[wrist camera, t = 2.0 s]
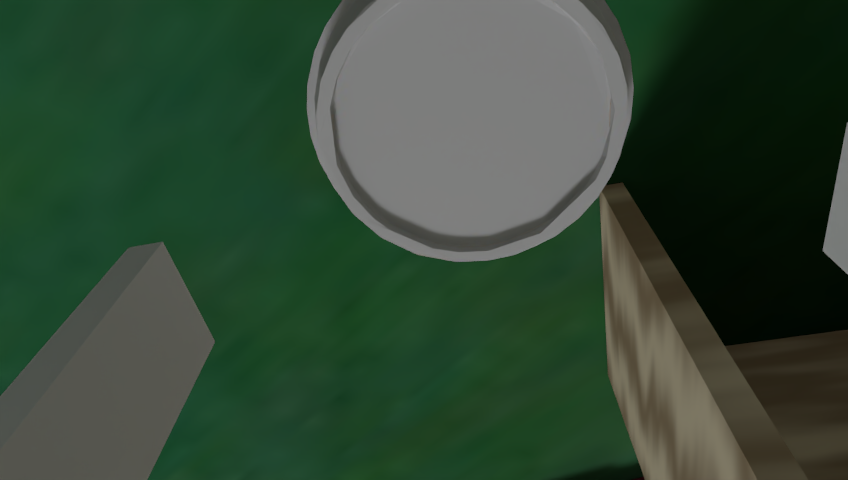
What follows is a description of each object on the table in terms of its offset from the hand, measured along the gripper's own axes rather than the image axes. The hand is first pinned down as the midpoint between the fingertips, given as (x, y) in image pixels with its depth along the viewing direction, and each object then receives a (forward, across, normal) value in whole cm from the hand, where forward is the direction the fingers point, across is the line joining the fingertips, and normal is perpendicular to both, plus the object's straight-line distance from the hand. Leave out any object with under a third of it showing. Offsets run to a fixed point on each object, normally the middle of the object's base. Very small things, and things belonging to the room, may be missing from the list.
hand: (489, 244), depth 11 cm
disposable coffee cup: (+18, 0, 0) cm, 18 cm away
